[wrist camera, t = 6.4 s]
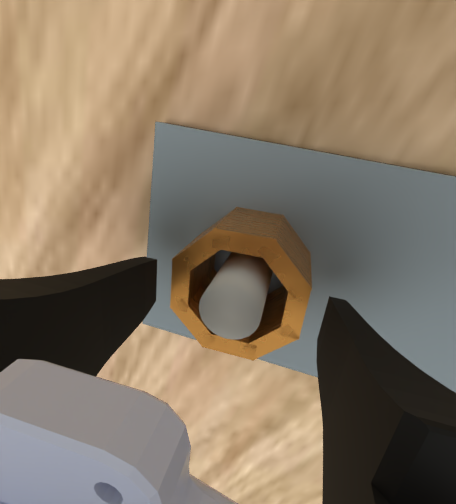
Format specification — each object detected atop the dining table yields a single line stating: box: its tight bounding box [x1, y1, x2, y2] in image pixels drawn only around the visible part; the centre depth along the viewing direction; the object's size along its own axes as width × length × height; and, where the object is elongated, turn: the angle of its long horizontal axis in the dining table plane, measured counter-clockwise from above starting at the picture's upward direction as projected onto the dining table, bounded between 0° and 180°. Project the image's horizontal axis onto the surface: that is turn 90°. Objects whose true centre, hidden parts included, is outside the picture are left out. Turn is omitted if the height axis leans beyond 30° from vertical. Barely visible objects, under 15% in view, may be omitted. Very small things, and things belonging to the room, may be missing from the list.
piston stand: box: [143, 122, 456, 393], centre depth 13 cm, size 18×12×6 cm, turn 82°
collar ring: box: [170, 207, 312, 361], centre depth 14 cm, size 6×6×4 cm
